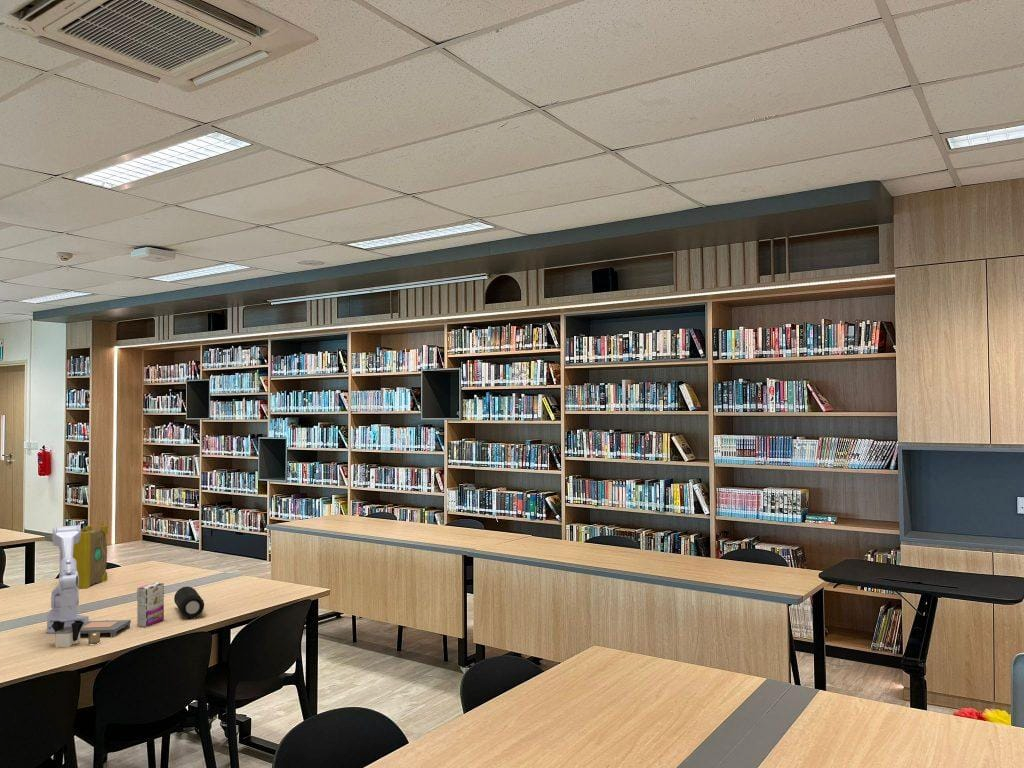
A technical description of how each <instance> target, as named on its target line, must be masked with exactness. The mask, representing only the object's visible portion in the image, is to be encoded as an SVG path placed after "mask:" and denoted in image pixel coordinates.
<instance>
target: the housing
mask: <svg viewBox="0 0 1024 768" xmlns="http://www.w3.org/2000/svg"><path fill="white" fill-rule="evenodd" d="M79 640H80V641H81V634H80V632H79V635H78V640H76V641H73V630H72V626H66V627H64V628H62V629H61V630H59V631H57V632H56V633H55V648H56V647H65V648H69V647H68V646H70V647H72V646H73V645H72V644H74V643H76V642H77V643H79V642H80V641H79ZM78 641H79V642H78ZM77 643H76V644H77ZM71 645H72V646H71ZM74 645H75V644H74Z"/></svg>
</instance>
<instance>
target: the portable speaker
mask: <svg viewBox="0 0 1024 768" xmlns="http://www.w3.org/2000/svg"><path fill="white" fill-rule="evenodd" d="M173 601H174V603H175V605H176V606H177V608H178V610H179V612H180V613H181V615H182V616H183V617H184V618H187V619H195V618H197V617H199V616H200V615H201V614H202V613H203V611H204V609H205V602H204V599H203V598H202V597H201V595H200V594H199V592H198V591H197V590H196V589H195V588H193V587H191V586H183V587H181V588H179V589H178V590H177V591H176V592H175V594H174V599H173ZM194 617H195V618H194Z"/></svg>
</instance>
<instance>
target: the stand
mask: <svg viewBox="0 0 1024 768" xmlns="http://www.w3.org/2000/svg"><path fill="white" fill-rule="evenodd" d="M131 623H132V619H117V620H88V621H87V622H84V624H83V626H82V627H81V630H80V635H81V634H89V633H92V632H100V634H106V633H107V634H108V633H110V635H109V636H115V635H116V636H117V632H118V631H119V630H121V629H123V628H125V629H129V628H128V627H130V628H131ZM116 636H115V637H116Z"/></svg>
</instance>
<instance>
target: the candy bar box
mask: <svg viewBox="0 0 1024 768" xmlns="http://www.w3.org/2000/svg"><path fill="white" fill-rule="evenodd" d="M164 590H165V587H164V582H160V581H155V582H152V583H148V584H145V585H143V586H140V587H137V589H136V591H137V593H136V595H137V597H136V598H137V609H136V610H137V616H136V617H137V619H136V621H137V627H138V626H145V627H144V628H148V627H150V625H151V626H153V625H155V624H157V622H158V623H160V622H162V621H164V620H165V614H164V613H165V603H164V602H165V601H164V600H165V594H164V593H165V591H164ZM161 620H162V621H161ZM159 621H160V622H159ZM152 624H153V625H152ZM147 626H148V627H147Z"/></svg>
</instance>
